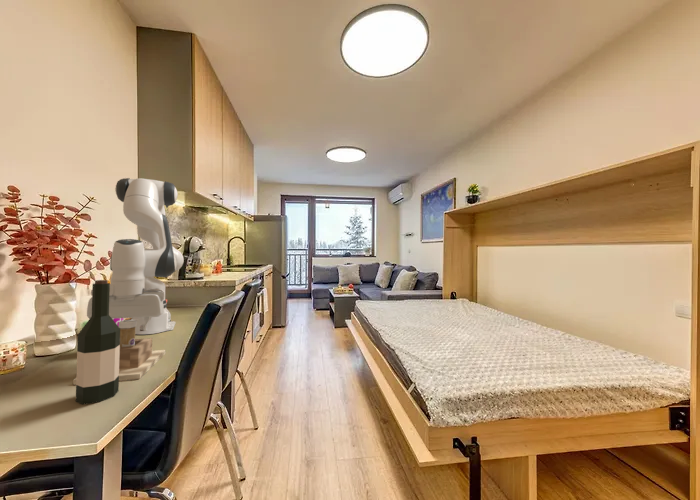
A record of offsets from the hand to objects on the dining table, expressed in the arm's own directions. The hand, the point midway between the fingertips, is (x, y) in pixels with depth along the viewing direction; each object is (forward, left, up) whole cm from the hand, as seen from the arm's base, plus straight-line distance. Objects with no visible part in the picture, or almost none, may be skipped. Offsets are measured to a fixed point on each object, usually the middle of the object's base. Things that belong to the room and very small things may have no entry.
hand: (126, 331), depth 93 cm
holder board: (0, 0, -12) cm, 12 cm away
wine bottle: (+20, +2, -12) cm, 23 cm away
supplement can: (-19, -13, -12) cm, 26 cm away
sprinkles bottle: (0, 0, -10) cm, 10 cm away
